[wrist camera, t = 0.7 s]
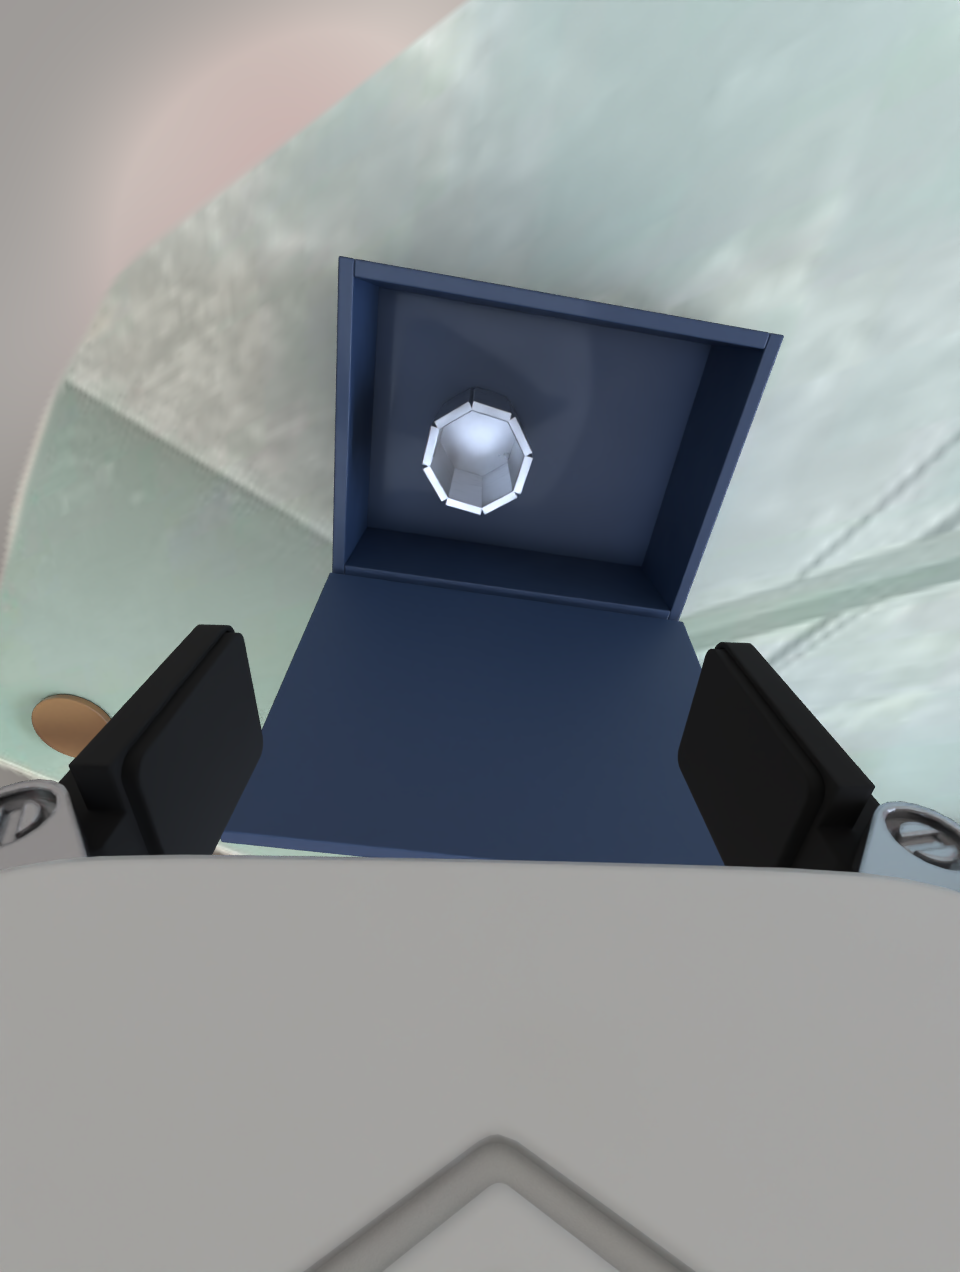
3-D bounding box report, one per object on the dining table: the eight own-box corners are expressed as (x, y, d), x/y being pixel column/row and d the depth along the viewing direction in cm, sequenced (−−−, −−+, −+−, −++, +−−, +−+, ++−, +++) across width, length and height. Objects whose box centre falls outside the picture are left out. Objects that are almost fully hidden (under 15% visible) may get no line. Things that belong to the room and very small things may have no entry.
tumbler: (419, 417, 29) (404, 438, 24) (496, 371, 28) (499, 383, 22) (462, 493, 31) (457, 529, 26) (535, 453, 30) (546, 482, 24)
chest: (369, 271, 27) (338, 255, 21) (722, 333, 28) (785, 335, 22) (358, 531, 33) (331, 574, 27) (645, 573, 34) (678, 622, 28)
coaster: (19, 712, 40) (14, 717, 39) (73, 682, 38) (68, 686, 38) (79, 764, 42) (75, 768, 42) (133, 737, 41) (129, 742, 40)
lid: (216, 830, 16) (237, 896, 19) (790, 891, 17) (731, 944, 20) (329, 572, 27) (332, 638, 29) (683, 621, 28) (653, 680, 31)
